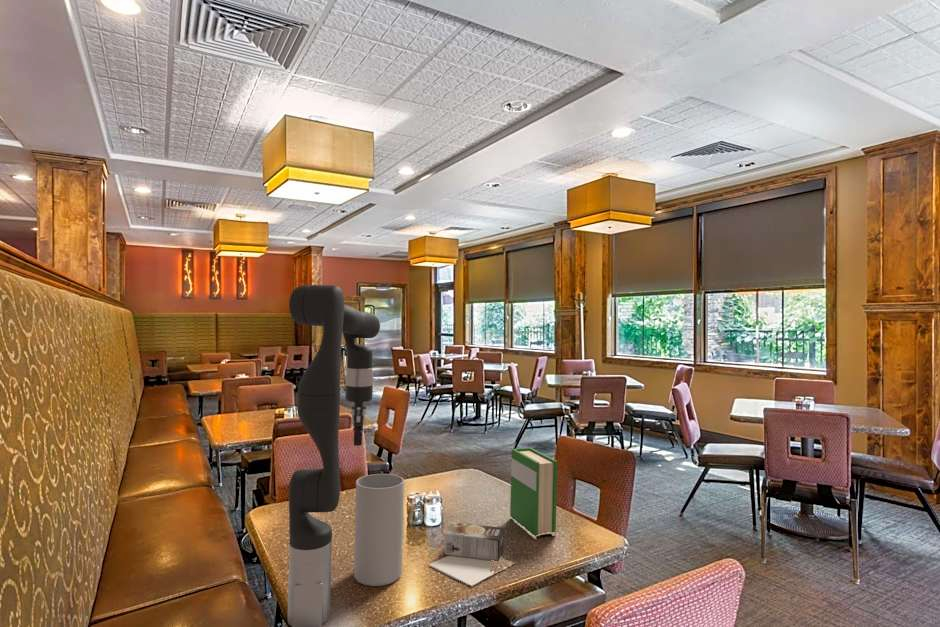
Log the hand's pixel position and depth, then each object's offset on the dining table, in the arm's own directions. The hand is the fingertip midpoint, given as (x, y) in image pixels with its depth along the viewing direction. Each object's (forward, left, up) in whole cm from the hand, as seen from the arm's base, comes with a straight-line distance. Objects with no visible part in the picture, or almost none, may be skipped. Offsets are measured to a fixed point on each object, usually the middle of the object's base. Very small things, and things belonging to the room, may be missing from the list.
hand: (357, 444), depth 148 cm
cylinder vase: (-11, -6, -32) cm, 35 cm away
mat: (-9, -32, -32) cm, 46 cm away
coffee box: (+1, -27, -28) cm, 39 cm away
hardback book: (+13, -57, -32) cm, 67 cm away
